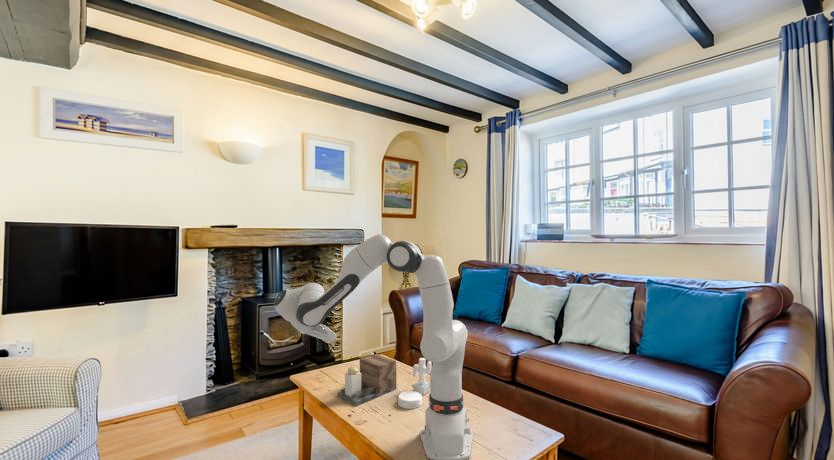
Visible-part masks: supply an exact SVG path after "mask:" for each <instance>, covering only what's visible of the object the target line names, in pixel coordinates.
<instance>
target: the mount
mask: <svg viewBox="0 0 834 460" xmlns="http://www.w3.org/2000/svg"><path fill="white" fill-rule="evenodd" d="M359 372H360V373H361V391H360V392H358V393H355V394H353V395H351V397H350V396H348V395H346V394H345V387H344V388H341V389H340V391H338V392H336V395H337V397H338V398H340V399H342V400H344V401H345V402H348V403H350V404H351V405H354V406H356V407H358V406H360V405H363V404H365V403H368V402H370V401H373V400H375V399H377V398H380V397H381V396H384V395H386V394H389V393H391V392H394V391H396V390H397V360H396V359H392V358H389V357H387V356H383V355H381V354H378V353H375V354H372V355H369V356H366V357H362V358H360V359H359Z"/></svg>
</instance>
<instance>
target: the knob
mask: <svg viewBox="0 0 834 460" xmlns="http://www.w3.org/2000/svg"><path fill="white" fill-rule="evenodd" d="M344 388H345V394H346V395H348V396H350V397H351V395H353V394H355V393H358V392H360V391H361V373H360V371H359V366H350V367H348V368H347V372H345V373H344Z"/></svg>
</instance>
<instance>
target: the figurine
mask: <svg viewBox="0 0 834 460" xmlns="http://www.w3.org/2000/svg"><path fill="white" fill-rule="evenodd" d="M426 361H427V360H426V359H425V358H424V357H420V358H419V359H418V363H417V364H414V365H413V367H412V370H413V371H412V373H413V374H412V375H413V377H419V378H418V379H419V380H417V381H415V382H412V383H411V384H410V385H411V387H412V389H413V391H415V392H418V393H420V394H421V395H422V396H424V395H426V394H427V393H430V381H427V380H426V375H430V372H431V368H432V362H430V361H427V362H426ZM418 372H419V373H418ZM418 374H419V375H418Z"/></svg>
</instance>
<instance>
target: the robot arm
mask: <svg viewBox="0 0 834 460" xmlns="http://www.w3.org/2000/svg"><path fill="white" fill-rule="evenodd" d="M386 263H387V264H388V266H389V267H390V268H391V269H393V270H394V271H396V272H401V273H408V274H409V273H410V274H414V275H415V277H416V279H417V283H418V287H419V294H420V299H421V304H422V312H423V313H422V315H423V324H422V325H423V326H422V327H423V328H422V337H421V340H420V344H419V347H420V348H419V349H420V352H421V355H422V356H423V358H425V359H426V360H425V361H427V362H429V361H430V362H431V363H432V365H431V372H430V374H429V376H430V377H429V379H430V381H429V382H430V391H429V395H428V405H429V406H428V407H427V408H426V409H425V411H424V413H425V417H424V421H425V422H424V428H423V429H420V431H419V436H420V440H421V444H422V446H423V449H424V453H425V455H426V458H428V459H430V460H468V459H470V458H471V456H472V455H471V454H472V448H473V447H472V446H473V439H474V431H473V430H472V429H471V427H470V426H468V423H469V421H470V419H469V417H468V410H467V409H466V407H464V395H463V392H462V389H463V387H462V385H463V383H462V381H463V380H462V378H463V377H462V376H463V375H462V374H463V364H464V358H465V351H466V343H467V340H468V336H469V333H468V329H467V327H466V325H465V324H464V323H463V322H462V321H460V320H458V319H453V312H454V307H455V306H454V305H455V303H454V298H453V293H452V290H451V289H452V288H451V284H450V279H449V276H448V272H447V269H446V266H445V264H444V261H443V259H442V258H441V257H440V256H438V255H436V254H427V255H425V254H423V250H422V249H421V247H420V246H419V245H417V244H416V243H414V242H412V241H409V240H398V241H396V242H393V241H392V240H391V239H390V238H389V237H388V236H387V235H384V234H382V233H380V234H379V233H378V234H376V235H373V236H371V237H369V238H368V239H366V240H364V241H362V242H360V244H358V245H356V246H355V247H354V248H352V249H351V250H350V251H349V252H348V253H347V255H345V257H344V258H343V261H342V265H341V269H340V273H339V275H338V277H337V280H336V281H335V283H334V284H333V285H332V286H331V287H330V288H329V289H327V290H326V291H325V288H324V286H323V285H322V284H320V283H318V282H315V281H314V282H311V281H310V282H306V283H305V284H304V285H302V286H299V287H297V288H294V289H293V288H292V289H288V288H287V289H283V290H282V291H280V292H279V293H278V294H277V296H276V297H275V299H274V302H273V307H274V309H275V311H276V312H277V313H278V314H279V315H280V316H281V317H282V318H283V319H284V320H285V321H287V322H289V323H290V325H291V326H292V327H293V328H295V329H296V330H297V331H298V332H299V333H301V334H302V335H307V336H311V337H314V338H317V339H320V340H322V341H323V342H324V343H326V344H332V343H334V342H335V340H336V339H337V337H338V335H337V334H336V333H335V332H334V331H333V330H332V329H330V328H329V327H328V326H326V325H325V324H323V322H324V321H326V320H325V319H326V318H327V317H328V315H329V314H330V313H331V311H332V310H334V309H335V308H336V307H337V306H338V305H339V304H341V303H342V302H343V301H344V300H345V299H346V298H347V297H348V296H349V295H350V294H352V293H353V292H354V291H355V290H356V288H357V287H358V286H359V285H360V284H361V283H362V281H363V280H364V279H366V278H367V277H368V276H369V275H370V274H371V273H373V272H374V271H376V270H377V269H378V268H379V267H381V266H382V265H385V264H386Z"/></svg>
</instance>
